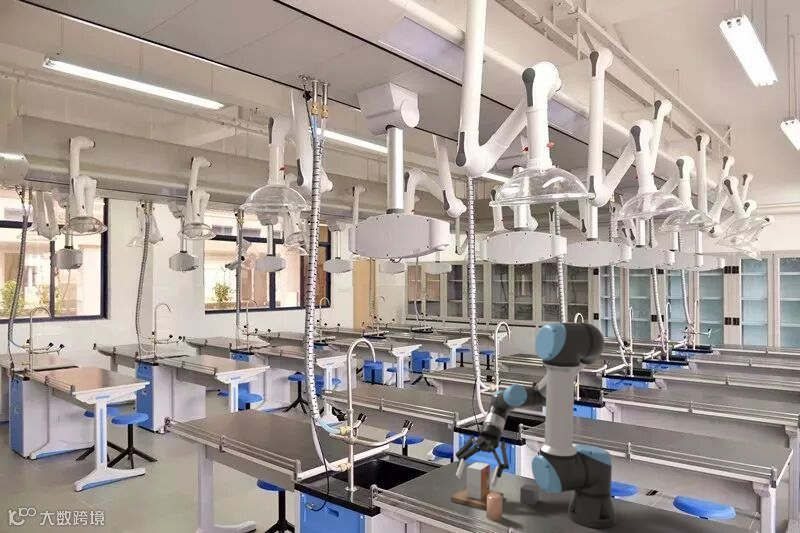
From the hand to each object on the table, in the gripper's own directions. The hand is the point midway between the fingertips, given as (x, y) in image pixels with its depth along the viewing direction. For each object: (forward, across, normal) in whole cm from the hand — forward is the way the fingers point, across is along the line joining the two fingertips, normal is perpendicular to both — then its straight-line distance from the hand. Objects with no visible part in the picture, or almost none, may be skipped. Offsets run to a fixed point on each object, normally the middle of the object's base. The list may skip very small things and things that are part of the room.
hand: (475, 481), depth 198 cm
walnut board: (+3, 0, -7) cm, 8 cm away
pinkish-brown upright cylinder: (+11, -11, +1) cm, 16 cm away
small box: (+2, 0, -6) cm, 6 cm away
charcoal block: (-3, -16, -13) cm, 21 cm away
